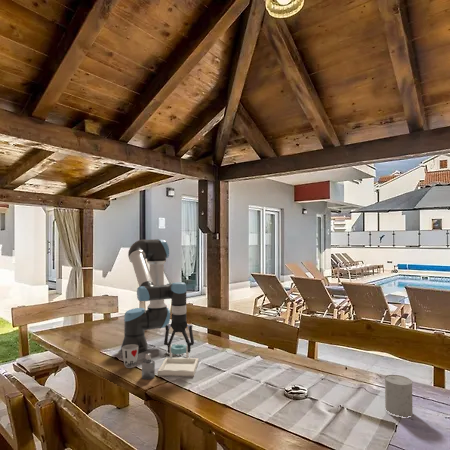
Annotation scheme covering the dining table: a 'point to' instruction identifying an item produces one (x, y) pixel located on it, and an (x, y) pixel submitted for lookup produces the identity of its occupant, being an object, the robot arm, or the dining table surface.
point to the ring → (178, 349)
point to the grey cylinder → (398, 395)
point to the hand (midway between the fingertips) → (179, 358)
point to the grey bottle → (148, 368)
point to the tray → (178, 367)
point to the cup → (130, 355)
